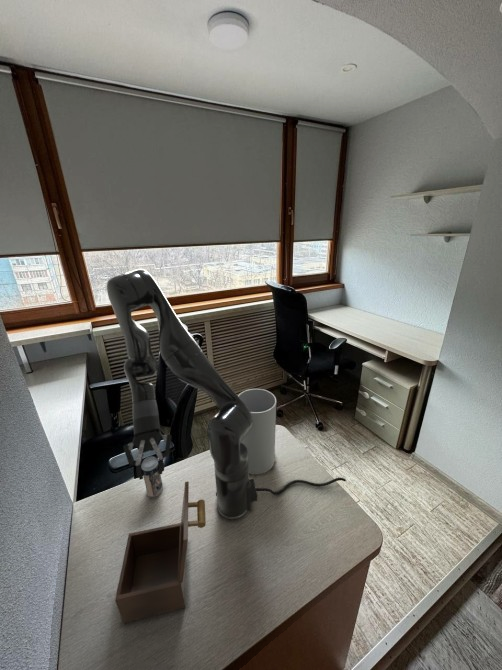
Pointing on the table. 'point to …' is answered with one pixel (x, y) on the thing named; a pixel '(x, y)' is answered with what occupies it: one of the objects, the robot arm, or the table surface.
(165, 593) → the chest
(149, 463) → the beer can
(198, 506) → the chest lid
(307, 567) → the table surface
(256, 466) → the cylinder vase
